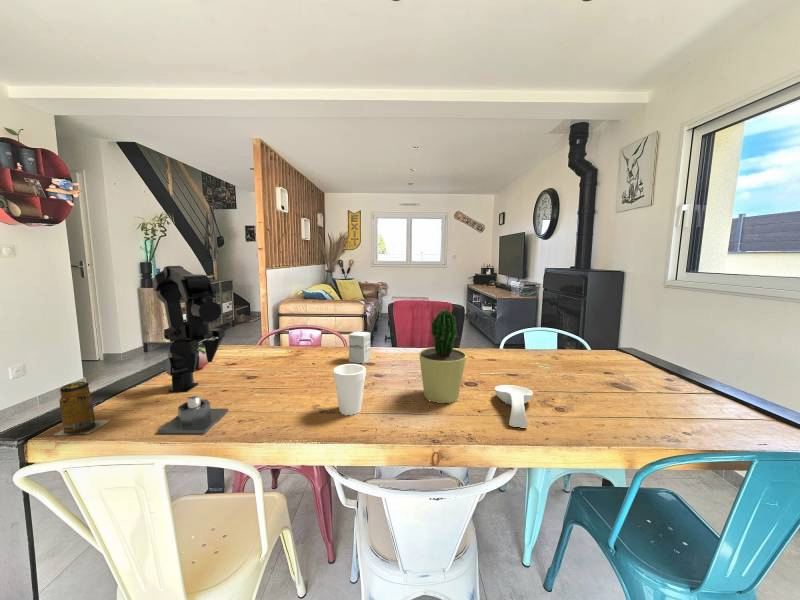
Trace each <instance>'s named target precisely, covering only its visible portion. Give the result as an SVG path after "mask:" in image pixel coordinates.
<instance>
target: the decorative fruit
mask: <svg viewBox="0 0 800 600" xmlns="http://www.w3.org/2000/svg"><path fill="white" fill-rule="evenodd" d="M198 350H199V355H198V356H199V367H198V370H199V369H202V368H204V367H205V366H207V365H209V363H210V362H208V360H207V356H206V351H205V347H202V346H201V347H200V346H199V347H198Z"/></svg>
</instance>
